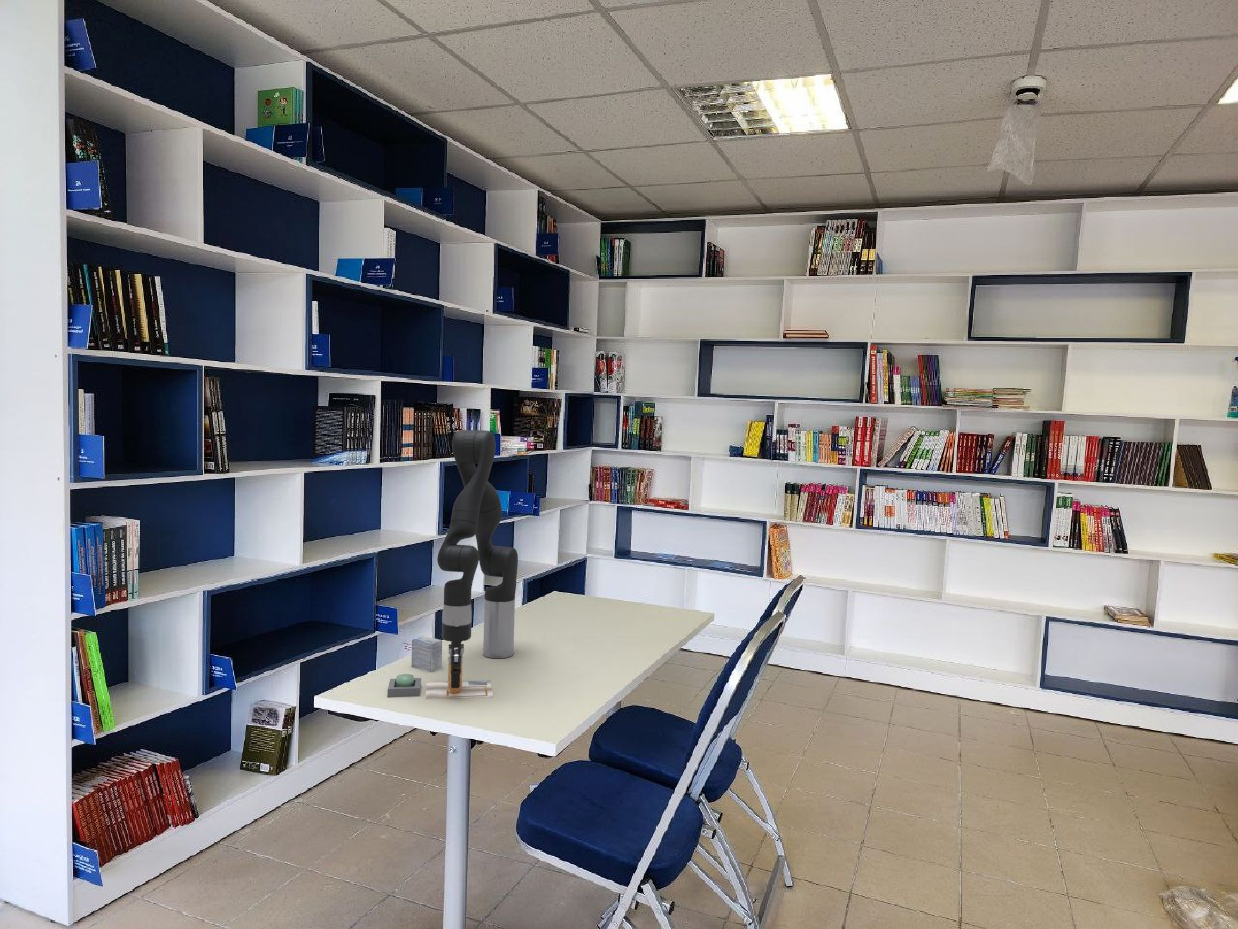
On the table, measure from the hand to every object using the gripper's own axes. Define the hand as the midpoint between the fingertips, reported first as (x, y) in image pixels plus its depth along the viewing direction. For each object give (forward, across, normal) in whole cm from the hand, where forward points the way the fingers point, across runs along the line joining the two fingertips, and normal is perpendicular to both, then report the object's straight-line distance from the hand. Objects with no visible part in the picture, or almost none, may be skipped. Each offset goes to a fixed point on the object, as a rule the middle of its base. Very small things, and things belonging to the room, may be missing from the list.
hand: (455, 684), depth 211 cm
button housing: (+2, -2, -13) cm, 13 cm away
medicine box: (+3, -21, -8) cm, 23 cm away
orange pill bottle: (+2, 0, 0) cm, 2 cm away
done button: (+1, -2, -13) cm, 13 cm away
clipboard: (+2, -2, +1) cm, 3 cm away
